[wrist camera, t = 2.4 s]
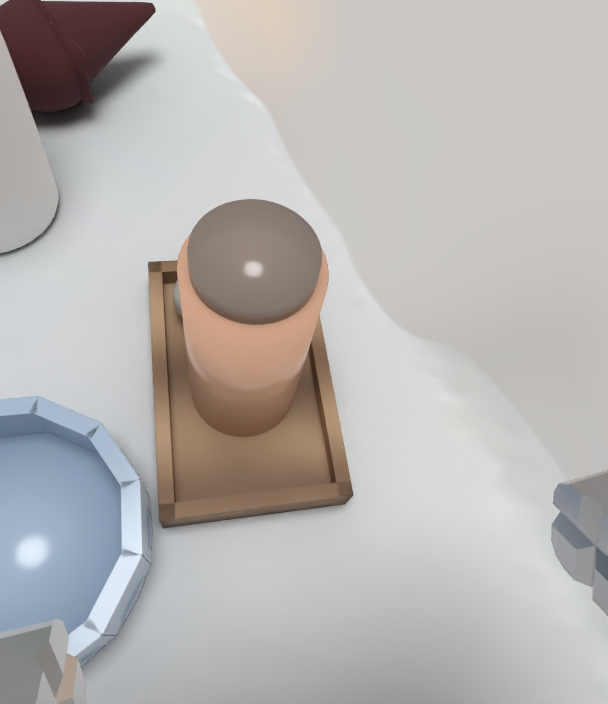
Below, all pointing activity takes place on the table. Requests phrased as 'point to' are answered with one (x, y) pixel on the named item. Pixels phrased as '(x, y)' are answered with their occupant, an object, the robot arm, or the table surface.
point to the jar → (249, 312)
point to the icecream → (66, 45)
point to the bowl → (68, 524)
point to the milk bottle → (21, 165)
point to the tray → (239, 452)
